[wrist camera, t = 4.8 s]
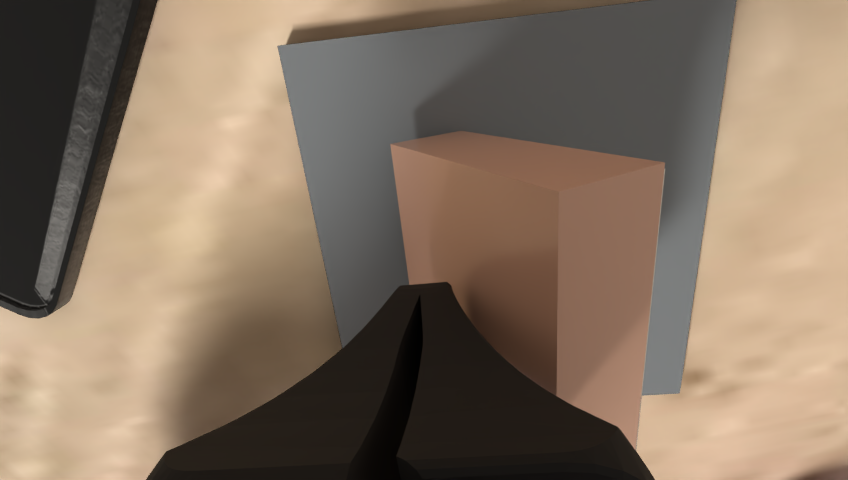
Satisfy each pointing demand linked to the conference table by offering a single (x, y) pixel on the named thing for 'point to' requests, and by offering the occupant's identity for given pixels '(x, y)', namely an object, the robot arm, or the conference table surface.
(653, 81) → the mat
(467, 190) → the light brown rectangular block
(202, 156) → the conference table surface
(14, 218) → the phone
